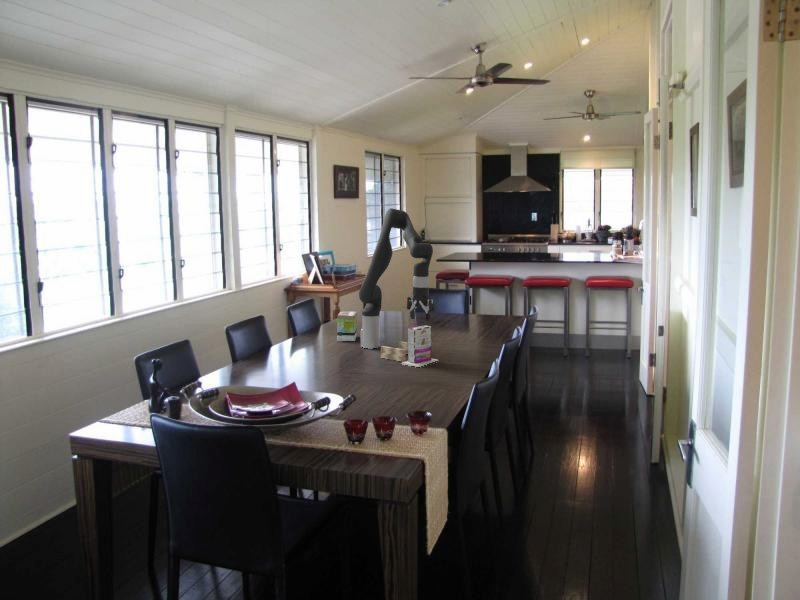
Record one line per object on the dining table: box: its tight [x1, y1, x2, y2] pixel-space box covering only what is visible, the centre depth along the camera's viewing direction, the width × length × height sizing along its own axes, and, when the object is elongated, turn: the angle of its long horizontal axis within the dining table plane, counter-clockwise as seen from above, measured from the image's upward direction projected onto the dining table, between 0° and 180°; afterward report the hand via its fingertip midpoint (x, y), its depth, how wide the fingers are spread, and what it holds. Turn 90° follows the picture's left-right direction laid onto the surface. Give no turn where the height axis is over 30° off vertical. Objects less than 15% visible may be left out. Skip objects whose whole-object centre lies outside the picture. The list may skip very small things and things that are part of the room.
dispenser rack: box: [380, 341, 408, 363], centre depth 335 cm, size 14×15×6 cm
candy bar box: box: [407, 324, 433, 363], centre depth 322 cm, size 11×5×16 cm, turn 131°
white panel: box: [400, 358, 439, 368], centre depth 323 cm, size 10×16×1 cm, turn 142°
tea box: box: [336, 311, 358, 342], centre depth 379 cm, size 15×10×15 cm
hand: (420, 320), depth 320 cm, fingers open, 8 cm apart
